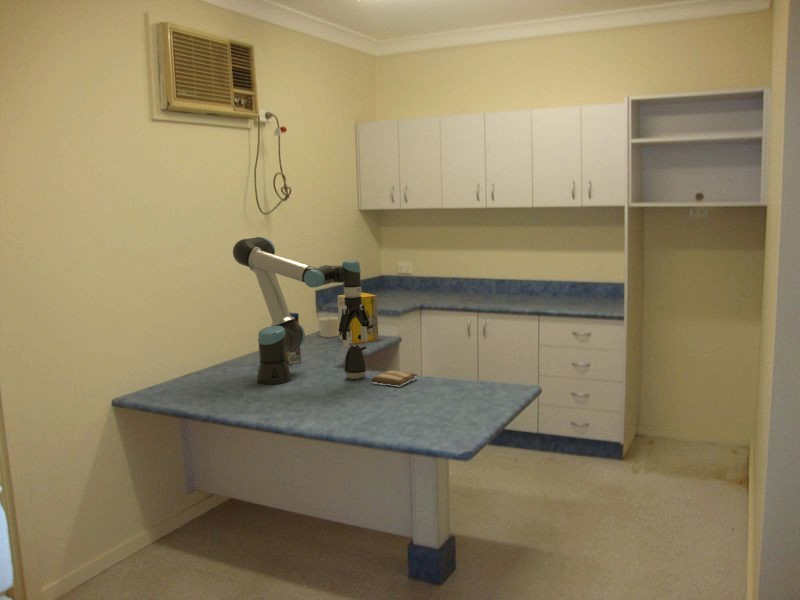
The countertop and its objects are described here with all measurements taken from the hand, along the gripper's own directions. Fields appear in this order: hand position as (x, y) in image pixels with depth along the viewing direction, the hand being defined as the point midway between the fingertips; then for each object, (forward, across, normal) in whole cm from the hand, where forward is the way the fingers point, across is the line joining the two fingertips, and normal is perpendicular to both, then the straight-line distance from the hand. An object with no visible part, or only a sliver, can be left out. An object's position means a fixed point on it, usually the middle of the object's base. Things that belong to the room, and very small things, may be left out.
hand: (355, 344), depth 321 cm
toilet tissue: (+15, +73, +71) cm, 102 cm away
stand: (+16, +2, -18) cm, 24 cm away
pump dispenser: (+16, 0, 0) cm, 16 cm away
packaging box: (+15, +70, +48) cm, 86 cm away
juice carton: (+15, +12, +50) cm, 54 cm away
